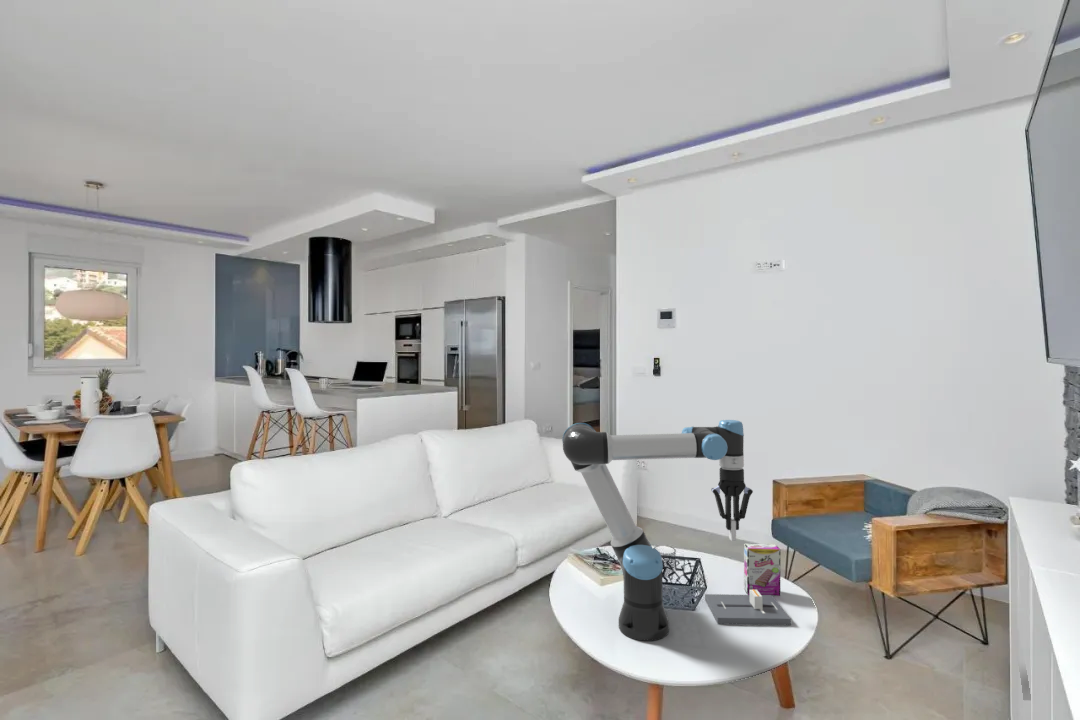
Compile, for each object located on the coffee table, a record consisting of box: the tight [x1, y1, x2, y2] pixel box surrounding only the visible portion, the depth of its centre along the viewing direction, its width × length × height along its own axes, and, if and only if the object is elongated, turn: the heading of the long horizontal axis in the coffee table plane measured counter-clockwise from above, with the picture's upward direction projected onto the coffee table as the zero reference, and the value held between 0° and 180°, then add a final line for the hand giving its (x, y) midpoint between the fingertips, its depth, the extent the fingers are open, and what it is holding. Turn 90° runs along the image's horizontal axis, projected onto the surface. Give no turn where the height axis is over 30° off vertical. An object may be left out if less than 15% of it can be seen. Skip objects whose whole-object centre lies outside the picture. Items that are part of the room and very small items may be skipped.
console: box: [704, 593, 792, 626], centre depth 171 cm, size 22×16×2 cm
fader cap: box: [749, 589, 763, 609], centre depth 170 cm, size 2×5×4 cm, turn 176°
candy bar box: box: [743, 543, 781, 597], centre depth 184 cm, size 11×5×16 cm, turn 84°
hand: (732, 539), depth 174 cm, fingers closed
